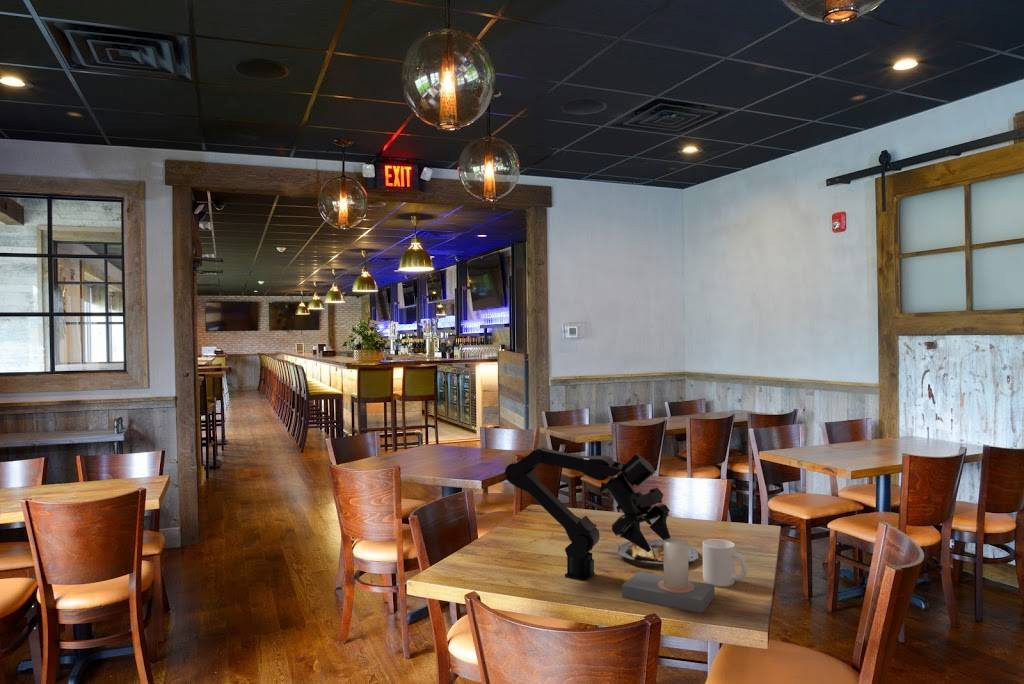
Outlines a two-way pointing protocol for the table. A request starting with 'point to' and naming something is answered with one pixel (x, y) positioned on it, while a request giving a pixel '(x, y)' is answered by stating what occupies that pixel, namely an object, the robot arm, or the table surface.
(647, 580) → the plinth
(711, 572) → the mug
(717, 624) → the table surface
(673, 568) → the canister
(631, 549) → the food plate
